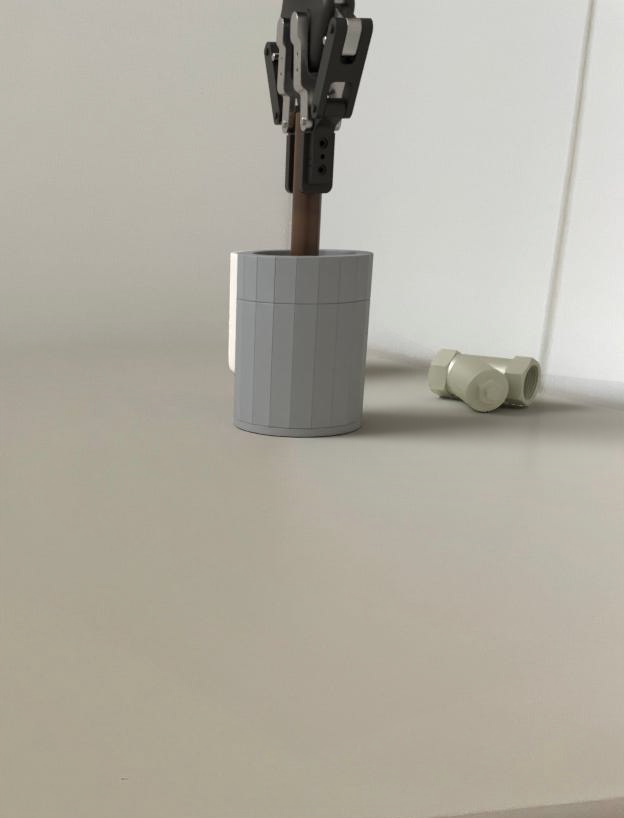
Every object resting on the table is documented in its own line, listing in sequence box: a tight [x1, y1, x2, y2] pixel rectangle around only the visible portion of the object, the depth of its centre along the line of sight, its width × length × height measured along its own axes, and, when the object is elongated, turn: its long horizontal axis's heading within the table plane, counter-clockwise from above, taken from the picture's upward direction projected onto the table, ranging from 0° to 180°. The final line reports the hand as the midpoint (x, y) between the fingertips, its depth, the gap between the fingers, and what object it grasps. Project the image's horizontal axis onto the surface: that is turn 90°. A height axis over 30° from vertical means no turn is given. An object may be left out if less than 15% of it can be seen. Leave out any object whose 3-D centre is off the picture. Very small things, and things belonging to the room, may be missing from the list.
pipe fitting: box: [427, 348, 542, 413], centre depth 85 cm, size 8×4×7 cm
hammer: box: [290, 112, 323, 256], centre depth 75 cm, size 4×4×16 cm
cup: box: [233, 248, 375, 438], centre depth 78 cm, size 9×9×12 cm
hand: (307, 192), depth 74 cm, fingers closed on hammer, 2 cm apart
